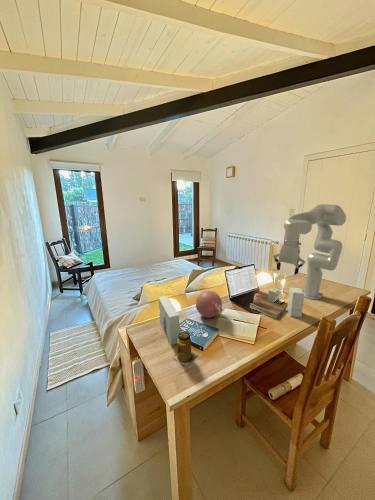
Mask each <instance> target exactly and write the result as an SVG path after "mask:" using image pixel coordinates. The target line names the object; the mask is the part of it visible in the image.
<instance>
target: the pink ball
mask: <svg viewBox="0 0 375 500" xmlns="http://www.w3.org/2000/svg"><path fill="white" fill-rule="evenodd" d="M195 308H196V310H197V312H198V313H199V314H200V315H201V316H202V317H205V318H207V319H208V318H209V319H210V318H214V317H216V316H217V315H219V314H220V313H221V312H223V301H222V299H221V297H220V295H219V294H218V293H216V292H215V291H213V290H204V291H202V292H200V293H199V295H198V296H196V299H195Z"/></svg>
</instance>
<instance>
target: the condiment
mask: <svg viewBox="0 0 375 500" xmlns="http://www.w3.org/2000/svg"><path fill="white" fill-rule="evenodd" d="M176 345H177V347H176V348H177V354H176V355H175V356H174V357H173V359H174V360H175V361H177V362H178V363H180V364H182V365H183V366H185V367H187V366H188V365H190V363H191V362H192V361H194V359H196V357H197V356H198V354H197V353H195V352H194V351H192V339H191V334H190V332H189V331H183V330H182V331H180V333H179V335H178V342H177V344H176Z"/></svg>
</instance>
